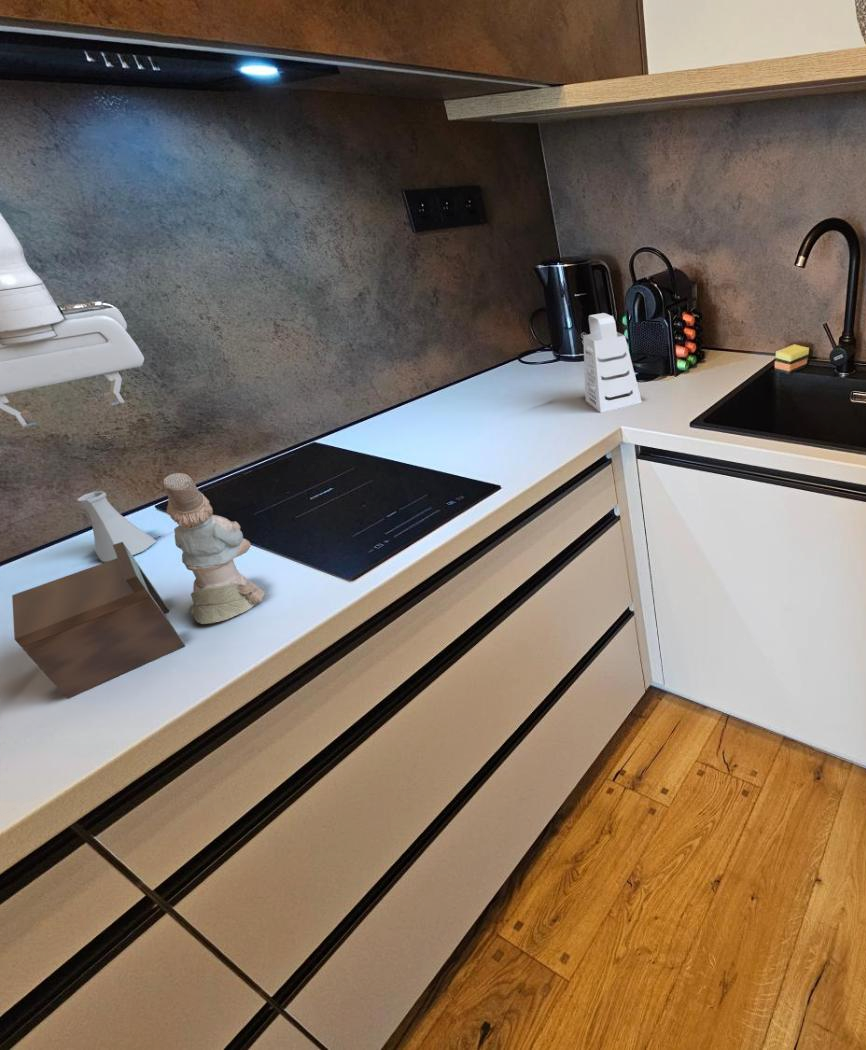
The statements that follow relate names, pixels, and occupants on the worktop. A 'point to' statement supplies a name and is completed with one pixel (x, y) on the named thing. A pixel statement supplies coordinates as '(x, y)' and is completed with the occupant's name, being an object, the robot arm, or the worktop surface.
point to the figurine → (209, 553)
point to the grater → (608, 366)
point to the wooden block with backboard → (94, 624)
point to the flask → (112, 528)
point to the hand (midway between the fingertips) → (75, 414)
